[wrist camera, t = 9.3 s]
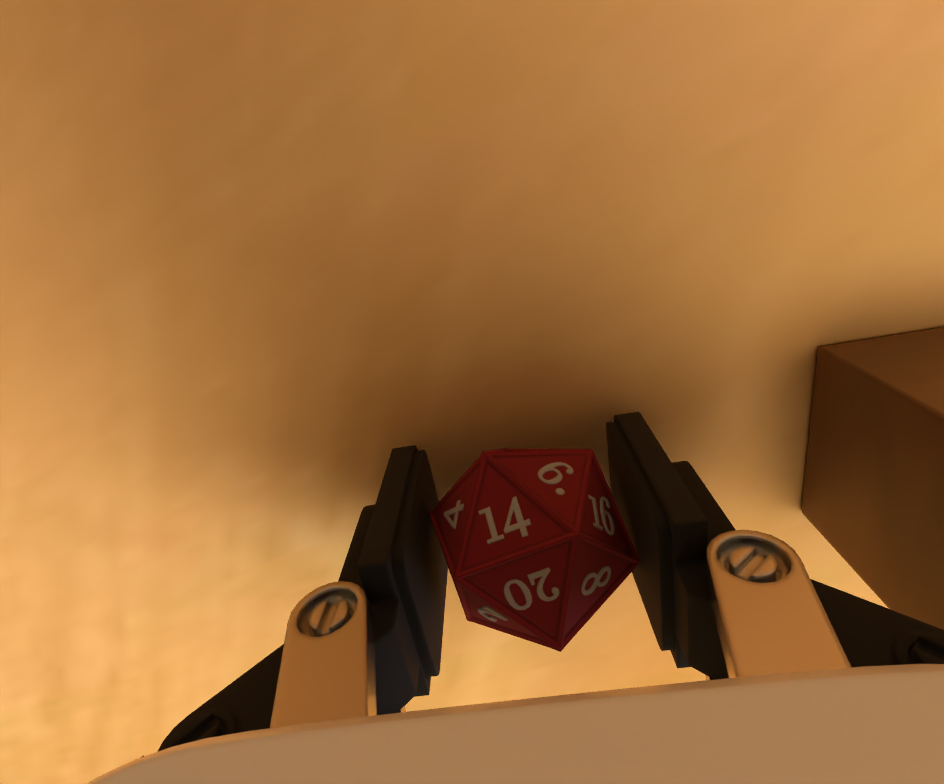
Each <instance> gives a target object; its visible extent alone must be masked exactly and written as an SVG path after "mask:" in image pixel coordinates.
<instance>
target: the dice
mask: <svg viewBox="0 0 944 784" xmlns="http://www.w3.org/2000/svg"><path fill="white" fill-rule="evenodd" d="M429 516H430V519H431V521H432V524H433V526H434V529H435V532H436V534H437V537H438V540H439V543H440V546H441V548H442V551H443V554H444V557H445V559H446V562H447V565H448V568H449V570H450V573H451V576H452V579H453V582H454V584H455V587H456V590H457V593H458V595H459V598H460V601H461V604H462V606H463V609H464V612H465V615H466V619H467V620H468V621H471V622H475V623H478V624H481V625H484V626H487V627H490V628H493V629H496V630H499V631H502V632H505V633H508V634H511V635H514V636H517V637H520V638H523V639H526V640H529V641H532V642H535V643H538V644H541V645H543V646H546V647H549V648H552V649H555V650H557V651H560V652H561V651H562V650H563V648H564V647H565V646H566V645H567V644H568V642H569V641H570V640H571V639H572V638H573V637H574V636H575V635H576V634H577V632H578V631H579V630H580V629H581V628H582V627H583V626H584V625H585V623H586V622H587V621H588V620H589V619H590V618H591V617H592V616H593V614H594V613H595V612H596V611H597V610H598V609H599V608H600V607H601V605H602V604H603V603H604V602H605V601H606V600H607V599H608V598H609V597H610V595H611V594H612V593H613V592H614V591H615V590H616V589H617V588H618V586H619V585H620V584H621V583H622V582H623V581H624V580H625V579H626V577H627V576H628V575H629V574H630V573H631V572H632V571H633V570H634V568H635V567H636V566H637V565H639V564H640V560H639V557H638V555H637V552H636V550H635V548H634V545H633V543H632V541H631V538H630V536H629V534H628V531H627V529H626V527H625V524H624V522H623V520H622V517H621V515H620V513H619V510H618V508H617V506H616V503H615V501H614V498H613V496H612V494H611V491H610V489H609V487H608V484H607V482H606V480H605V477H604V475H603V473H602V470H601V468H600V466H599V463H598V461H597V459H596V456H595V453H594V451H593V449H509V448H504V449H497V450H490V451H483V452H482V453H481V455H480V457H479V458H478V459H477V460H476V461H475V462H474V463H473V464H472V466H471V467H470V468H469V469H468V470H467V471H466V472H465V473H464V475H463V476H462V477H461V478H460V479H459V480H458V481H457V482H456V484H455V485H454V486H453V487H452V488H451V489H450V490H449V491H448V493H447V494H446V495H445V496H444V497H443V498H442V499H441V500H440V502H439V503H438V504H437V505H436V506H435V507H434V508H433V509H432V510H431V511H430V512H429Z"/></svg>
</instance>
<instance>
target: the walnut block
mask: <svg viewBox="0 0 944 784" xmlns="http://www.w3.org/2000/svg"><path fill="white" fill-rule="evenodd" d="M802 513H803V514H804V515H805V517H806V518H807V519H808V520H809V521H810V522H811V523H812V524H813V525H814V526H815V528H816V529H817V530H818V531H819V532H820V533H821V534H822V535H823V536H824V537H825V539H826V540H827V541H828V542H829V543H830V544H831V545H832V546H833V547H834V548H835V550H836V551H837V552H838V553H839V554H840V555H841V556H842V557H843V558H844V559H845V561H846V562H847V563H848V564H849V565H850V566H851V567H852V568H853V569H854V571H855V572H856V573H857V574H858V575H859V576H860V577H861V578H862V579H863V580H864V582H865V583H866V584H867V585H868V586H869V587H870V588H871V589H872V590H873V591H874V593H875V594H876V595H877V596H878V597H879V598H880V599H881V600H882V601H883V602H884V604H885V605H886V606H887V607H888V608H889V609H890V610H893V611H896V612H898V613H901V614H903V615H906V616H909V617H911V618H914V619H917V620H919V621H922V622H924V623H927V624H930V625H932V626H935V627H937V628H940V629H943V630H944V327H943V328H937V329H930V330H924V331H918V332H911V333H905V334H899V335H892V336H886V337H879V338H873V339H867V340H860V341H854V342H847V343H841V344H835V345H828V346H822V347H819V349H818V354H817V364H816V373H815V383H814V393H813V403H812V413H811V423H810V433H809V443H808V453H807V463H806V473H805V483H804V492H803V502H802Z"/></svg>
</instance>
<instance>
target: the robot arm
mask: <svg viewBox="0 0 944 784" xmlns="http://www.w3.org/2000/svg"><path fill="white" fill-rule="evenodd" d="M606 431H607V443H608V455H609V467H610V479H611V491H612V496H613V498H614V501H615V503H616V506H617V508H618V510H619V513H620V515H621V517H622V520H623V522H624V524H625V527H626V529H627V531H628V534H629V536H630V538H631V541H632V543H633V545H634V548H635V550H636V552H637V555H638V557H639V560H640V564H639V565H637V566H636V567H635V568H634V570H633V571H632V573H633V576H634V579H635V582H636V584H637V587H638V590H639V593H640V595H641V598H642V601H643V604H644V606H645V609H646V612H647V614H648V617H649V620H650V623H651V625H652V628H653V631H654V634H655V636H656V639H657V642H658V644H659V647H660V649H661V650H662V651H665V650H671V653H672V655H673V658H674V660H675V663H676V666H677V668H684V667H693V668H695V669H696V670H698V671H700V672H702V673H703V674H705V675H706V681H697V682H687V683H677V684H667V685H657V686H647V687H637V688H626V689H617V690H607V691H598V692H588V693H579V694H569V695H559V696H550V697H540V698H531V699H521V700H512V701H503V702H493V703H484V704H474V705H465V706H456V707H447V708H438V709H429V710H420V711H411V712H406V711H405V707H404V706H405V705H406V704H407V703H408V702H409V701H410V700H411V699H412V698H413V697H415V696H424V695H429V690H430V680H431V676H438V675H439V672H440V661H441V648H442V635H443V623H444V610H445V597H446V584H447V571H448V565H447V562H446V559H445V557H444V554H443V551H442V548H441V546H440V543H439V540H438V537H437V534H436V532H435V529H434V526H433V524H432V521H431V519H430V516H429V512H430V511H431V510H432V509H433V508H434V507H435V506H436V505H437V504H438V503H439V501H438V497H437V493H436V489H435V485H434V481H433V477H432V473H431V469H430V465H429V461H428V457H427V454H426V451H425V450H420V451H418V449H417V447H416V446H415V445H414V446H408V447H401V448H394V449H392V451H391V455H390V458H389V461H388V465H387V468H386V471H385V475H384V478H383V481H382V484H381V488H380V491H379V494H378V498H377V501H376V504H375V505H370V506H365V507H364V508H363V510H362V512H361V515H360V518H359V521H358V524H357V527H356V530H355V533H354V536H353V539H352V542H351V545H350V548H349V551H348V554H347V557H346V560H345V563H344V566H343V569H342V572H341V575H340V578H339V581H338V582H333V583H329V584H326V585H323V586H321V587H318V588H317V589H315V590H313V591H312V592H310V593H309V594H307V595H306V596H305V597H304V598H303V599H302V600H301V601H299V602H298V604H297V605H296V606H295V608H294V609H293V611H292V612H291V615H290V618H289V620H288V624H287V630H286V636H285V642H284V644H283V645H282V646H281V647H279V648H278V649H276V650H275V651H274V652H272V653H271V654H270V655H268V656H267V657H266V658H264V659H263V660H262V661H260V662H259V663H258V664H256V665H255V666H254V667H252V668H251V669H250V670H248V671H247V672H246V673H244V674H243V675H242V676H240V677H239V678H238V679H236V680H235V681H234V682H232V683H231V684H230V685H228V686H227V687H226V688H224V689H223V690H222V691H220V692H219V693H218V694H216V695H215V696H214V697H212V698H211V699H210V700H208V701H207V702H206V703H204V704H203V705H202V706H200V707H199V708H198V709H196V710H195V711H194V712H192V713H191V714H190V715H188V716H187V717H186V718H185V719H184V720H182V721H181V722H180V723H179V724H178V725H177V726H176V727H175V728H174V729H173V730H172V731H171V732H170V734H169V735H168V736H167V737H166V738H165V740H164V741H163V743H162V744H161V746H160V748H159V750H158V752H156V753H153V754H150V755H147V756H142V757H140V758H138V759H135V760H133V761H131V762H129V763H127V764H125V765H123V766H120V767H118V768H116V769H114V770H112V771H110V772H108V773H105V774H103V775H101V776H99V777H97V778H95V779H94V780H92V781H90V782H88V783H87V784H944V630H943V629H940V628H937V627H935V626H932V625H930V624H927V623H924V622H922V621H919V620H917V619H914V618H911V617H909V616H906V615H903V614H901V613H898V612H896V611H893V610H890V609H888V608H885V607H882V606H880V605H877V604H875V603H872V602H869V601H867V600H864V599H861V598H859V597H856V596H854V595H851V594H848V593H846V592H843V591H840V590H838V589H835V588H833V587H830V586H827V585H825V584H822V583H819V582H817V581H814V580H812V579H810V578H809V576H808V574H807V571H806V569H805V567H804V565H803V563H802V561H801V559H800V557H799V556H798V555H797V553H796V552H795V550H794V549H793V548H791V547H790V546H789V545H788V544H786V543H785V542H784V541H782V540H780V539H778V538H776V537H774V536H772V535H769V534H765V533H761V532H758V531H750V530H735V528H734V527H733V526H732V524H731V523H730V521H729V520H728V518H727V517H726V515H725V514H724V512H723V511H722V510H721V508H720V507H719V505H718V504H717V502H716V501H715V499H714V498H713V496H712V495H711V493H710V492H709V491H708V489H707V488H706V486H705V485H704V483H703V482H702V480H701V479H700V477H699V476H698V474H697V473H696V472H695V470H694V469H693V467H692V466H691V465H690V463H689V462H687V461H681V462H674V463H671V461H670V460H669V458H668V457H667V455H666V453H665V452H664V450H663V449H662V447H661V445H660V444H659V442H658V441H657V439H656V437H655V436H654V434H653V433H652V431H651V429H650V428H649V426H648V425H647V423H646V422H645V420H644V418H643V417H642V415H641V414H640V412H633V413H627V414H620V415H615V416H614V422H608V423H606Z"/></svg>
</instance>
